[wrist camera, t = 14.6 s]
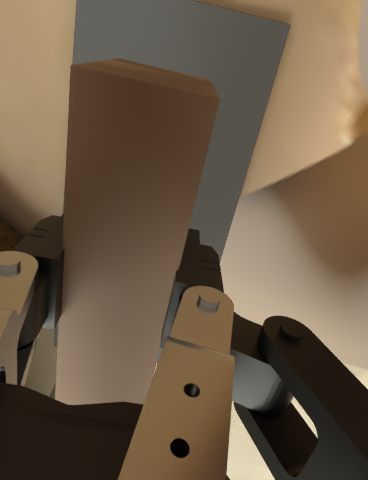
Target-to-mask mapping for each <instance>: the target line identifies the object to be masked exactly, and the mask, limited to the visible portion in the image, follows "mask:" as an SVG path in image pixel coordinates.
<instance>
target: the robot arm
mask: <svg viewBox="0 0 368 480" xmlns="http://www.w3.org/2000/svg"><path fill="white" fill-rule="evenodd" d="M63 220H64V214H63V215H62V216H61V217H59V216H54V215H52V216H50V217H47V218H45V219H42V220H40V221H39V222H38V223H37V224H36V226H35V227H34V228H33V229H32V230H31V231H30V232H29V233H28V235H26V236H25V237H24V238H23V239H22V240H21V241H20V242H19V243H18V244H17V246H16V247H15V248H14V249H13V250H12V251H3V252H0V480H230V479H229V478H228V476H227V475H226V471H227V458H228V445H229V432H230V418H231V405H232V401H234V407H235V410H236V412H237V414H238V415H239V417H240V419H241V421H242V422H243V424H244V426H245V428H246V429H247V431H248V433H249V435H250V436H251V438H252V440H253V442H254V443H255V445H256V447H257V449H258V450H259V452H260V454H261V456H262V457H263V459H264V461H265V463H266V464H267V466H268V468H269V470H270V471H271V473H272V475H273V477H274V478H275V480H368V389H367V388H366V387H365V386H364V385H363V384H362V383H361V382H360V381H359V380H358V379H357V378H356V377H355V376H354V375H353V374H352V373H351V372H350V371H349V370H348V369H347V368H346V367H345V366H344V365H343V363H342V362H341V361H340V360H339V359H338V358H337V357H336V356H335V355H334V354H333V353H332V352H331V351H330V350H329V349H328V348H327V347H326V346H325V345H324V344H323V343H322V342H321V341H320V340H319V339H318V338H317V336H316V335H315V334H314V333H312V331H311V330H310V329H308V328H307V327H306V326H305V325H303V324H302V323H300V322H298V321H296V320H294V319H291V318H288V317H284V316H272V317H269V318H267V319H266V320H265V321H264V324H263V326H261V325H259V324H257V323H254V322H251V321H249V320H247V319H245V318H242V317H240V316H239V315H238V314H236V313H235V312H234V304H233V302H232V300H231V299H230V298H229V297H228V296H227V295H226V294H224V290H223V283H222V276H221V272H220V271H221V269H220V265H219V264H220V262H219V255H218V254H217V252H216V251H215V250H214V249H213V248H212V246H208V245H202V244H200V232H199V230H196V229H191V228H189V230H188V234H187V238H186V242H185V246H184V251H183V255H182V259H181V263H180V267H179V271H176V274H175V278H174V282H173V287H172V291H171V295H170V299H169V303H168V308H167V312H166V316H165V320H164V324H163V329H162V333H161V342H160V348H163V350H162V353H161V356H160V359H159V362H158V364H157V367H156V370H155V373H154V376H153V379H152V382H151V385H150V388H149V391H148V393H147V396H146V399H145V402H144V405H143V404H137V403H130V402H124V401H123V402H110V403H96V404H83V405H68V404H65V403H62V402H60V401H58V400H55V399H53V398H50V397H48V396H46V395H43V394H41V393H38V392H36V391H34V390H31V389H29V388H27V387H24V386H25V383H26V379H27V376H28V372H29V369H30V365H31V362H32V358H33V355H34V351H35V348H36V337H37V335H38V333H39V332H40V330H41V328H48V329H55V327H56V325H57V323H58V321H59V319H60V317H61V308H62V288H63V269H64V250H62V241H63ZM293 396H294V397H295V398H296V400H297V401H298V402H299V404H300V405H301V406H302V408H303V409H304V410H305V412H306V413H307V414H308V416H309V417H310V418H311V420H312V421H313V423H314V425H315V427H316V430H317V435H318V438H317V437H316V436H315V434H314V433H313V432H312V430H311V429H310V428H309V426H308V425H307V423H306V422H305V421H304V419H303V418H302V417H301V415H300V414H299V412H298V411H297V410H296V408H295V407H294V406H293V404H292V403H291V400H292V398H293Z"/></svg>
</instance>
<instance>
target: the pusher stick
mask: <svg viewBox="0 0 368 480" xmlns="http://www.w3.org/2000/svg"><path fill="white" fill-rule="evenodd" d="M219 102H220V98H219V96H218V94H217V92H216V90H215V88H214V86H213V84H212V83H211V81H210V79H206V78H202V77H198V76H193V75H189V74H185V73H180V72H176V71H172V70H167V69H163V68H159V67H154V66H150V65H146V64H142V63H137V62H133V61H129V60H124V59H120V58H116V59H109V60H102V61H95V62H88V63H81V64H74V65H71V73H70V94H69V115H68V136H67V157H66V178H65V199H64V220H63V241H62V250H64V269H63V288H62V308H61V317H60V319H59V325H58V346H57V367H56V383H55V386H54V388H53V391H52V393H51V395H50V398H53V399H55V400H58V401H60V402H62V403H65V404H68V405H83V404H96V403H110V402H123V401H124V402H130V403H137V404H143V405H144V402H145V399H146V396H147V393H148V391H149V388H150V385H151V382H152V379H153V375H154V371H155V366H156V362H157V358H158V354H159V350H160V342H161V333H162V329H163V324H164V320H165V316H166V312H167V308H168V303H169V299H170V295H171V291H172V287H173V282H174V278H175V274H176V271H179V267H180V263H181V259H182V255H183V251H184V246H185V242H186V238H187V234H188V230H189V226H190V222H191V218H192V213H193V209H194V205H195V201H196V197H197V193H198V189H199V184H200V180H201V176H202V172H203V168H204V164H205V160H206V156H207V151H208V147H209V143H210V139H211V135H212V131H213V127H214V122H215V118H216V114H217V110H218V106H219Z"/></svg>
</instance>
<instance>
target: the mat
mask: <svg viewBox="0 0 368 480" xmlns="http://www.w3.org/2000/svg"><path fill="white" fill-rule="evenodd" d="M290 26H291V25H289V24H285V23H281V22H277V21H273V20H269V19H265V18H261V17H257V16H253V15H249V14H245V13H241V12H237V11H234V10H230V9H226V8H222V7H218V6H214V5H210V4H206V3H202V2H198V1H194V0H77V2H76V18H75V34H74V49H73V65H74V64H81V63H88V62H95V61H102V60H109V59H116V58H120V59H124V60H129V61H133V62H137V63H142V64H146V65H150V66H154V67H159V68H163V69H167V70H172V71H176V72H180V73H185V74H189V75H193V76H198V77H202V78H206V79H210V81H211V83H212V84H213V86H214V88H215V90H216V92H217V94H218V96H219V98H220V102H219V106H218V110H217V114H216V118H215V122H214V127H213V131H212V135H211V139H210V143H209V147H208V151H207V156H206V160H205V164H204V168H203V172H202V176H201V180H200V184H199V189H198V193H197V197H196V201H195V205H194V209H193V213H192V218H191V222H190V226H189V228H191V229H196V230H199V232H200V244H202V245H208V246H212V248H213V249H214V250H215V251H216V252H217V254H218V255H219V262H220V260H221V256H222V253H223V250H224V246H225V243H226V240H227V236H228V233H229V229H230V226H231V223H232V220H233V216H234V212H235V209H236V206H237V203H238V200H239V196H240V193H241V190H242V186H243V183H244V180H245V176H246V173H247V169H248V166H249V163H250V159H251V156H252V153H253V149H254V146H255V143H256V139H257V136H258V133H259V129H260V126H261V123H262V119H263V116H264V113H265V109H266V106H267V103H268V99H269V96H270V93H271V89H272V86H273V83H274V79H275V76H276V73H277V69H278V66H279V63H280V59H281V56H282V53H283V49H284V46H285V43H286V39H287V36H288V33H289V29H290ZM65 178H66V175H65ZM64 199H65V191H64ZM63 214H64V206H63ZM58 325H59V321H58V323H57V325H56V332H55V346H56V347H57V346H58ZM162 350H163V348H160V350H159V354H158V358H157V362H156V363H158V362H159V359H160V356H161V353H162Z"/></svg>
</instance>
